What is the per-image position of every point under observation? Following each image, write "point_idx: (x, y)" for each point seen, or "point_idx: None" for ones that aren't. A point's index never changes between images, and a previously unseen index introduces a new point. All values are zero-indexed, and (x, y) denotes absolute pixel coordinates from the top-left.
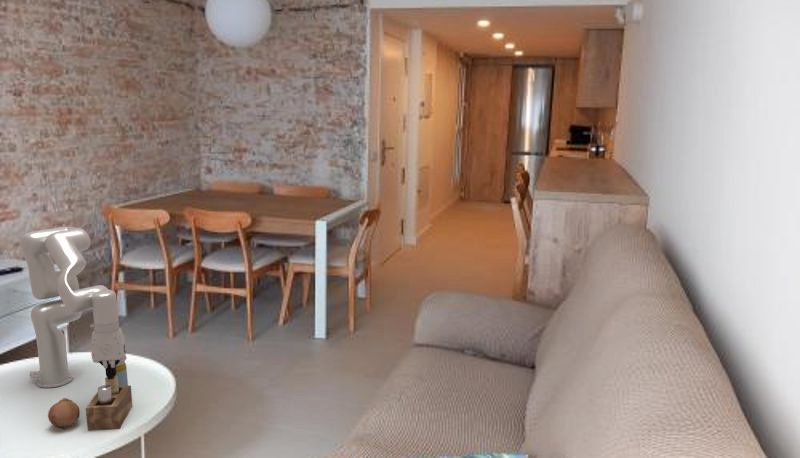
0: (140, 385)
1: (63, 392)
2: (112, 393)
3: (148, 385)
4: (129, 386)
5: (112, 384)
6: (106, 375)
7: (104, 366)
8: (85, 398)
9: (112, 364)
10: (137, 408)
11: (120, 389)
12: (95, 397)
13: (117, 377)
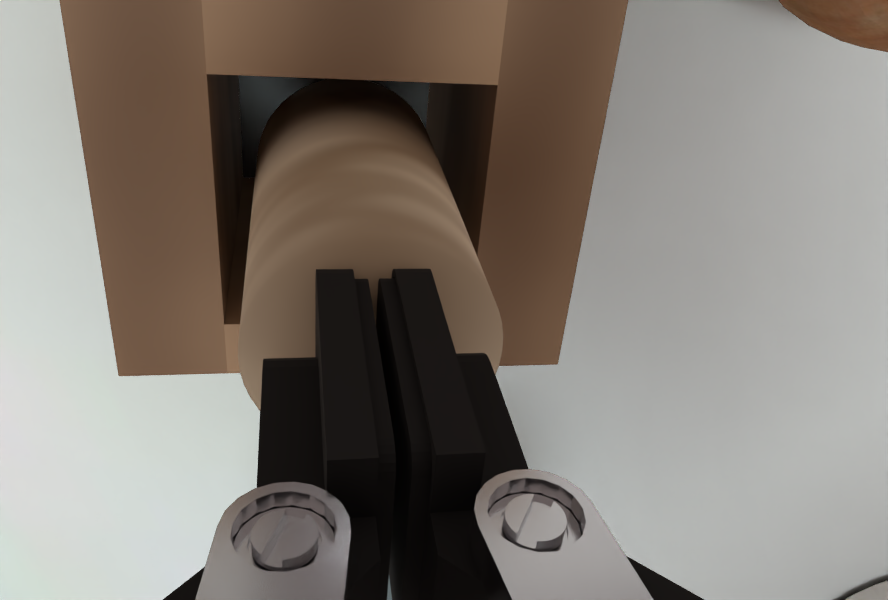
0: None
1: (840, 512)
2: (328, 118)
3: None
4: (125, 342)
5: (320, 194)
6: (475, 353)
7: (572, 525)
8: (674, 416)
9: (291, 591)
10: None
11: None
12: (590, 3)
13: (239, 357)
